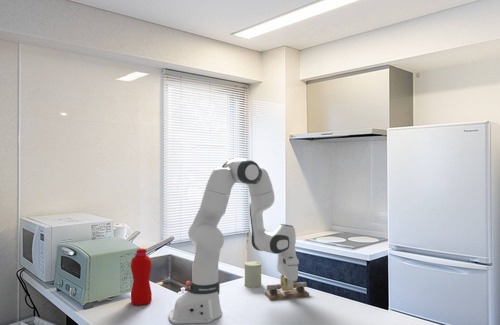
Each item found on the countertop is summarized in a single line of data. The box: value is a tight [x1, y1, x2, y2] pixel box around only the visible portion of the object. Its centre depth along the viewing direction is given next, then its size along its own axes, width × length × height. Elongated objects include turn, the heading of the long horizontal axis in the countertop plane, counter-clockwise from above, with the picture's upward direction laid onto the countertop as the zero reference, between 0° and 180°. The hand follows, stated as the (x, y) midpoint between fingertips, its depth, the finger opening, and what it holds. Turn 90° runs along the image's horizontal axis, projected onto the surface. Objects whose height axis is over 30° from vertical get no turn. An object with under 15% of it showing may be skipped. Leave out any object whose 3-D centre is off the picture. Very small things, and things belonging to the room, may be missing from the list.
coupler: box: [280, 275, 294, 291], centre depth 189 cm, size 5×4×6 cm
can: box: [243, 260, 263, 289], centre depth 205 cm, size 9×9×12 cm
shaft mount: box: [264, 281, 310, 301], centre depth 189 cm, size 20×9×6 cm, turn 104°
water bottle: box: [126, 248, 153, 306], centre depth 180 cm, size 9×11×25 cm
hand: (286, 285), depth 189 cm, fingers closed on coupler, 4 cm apart
